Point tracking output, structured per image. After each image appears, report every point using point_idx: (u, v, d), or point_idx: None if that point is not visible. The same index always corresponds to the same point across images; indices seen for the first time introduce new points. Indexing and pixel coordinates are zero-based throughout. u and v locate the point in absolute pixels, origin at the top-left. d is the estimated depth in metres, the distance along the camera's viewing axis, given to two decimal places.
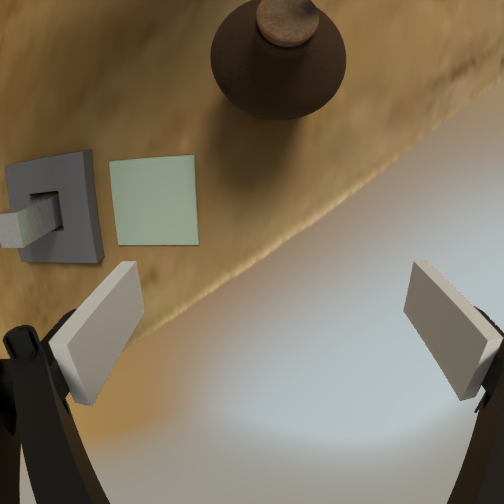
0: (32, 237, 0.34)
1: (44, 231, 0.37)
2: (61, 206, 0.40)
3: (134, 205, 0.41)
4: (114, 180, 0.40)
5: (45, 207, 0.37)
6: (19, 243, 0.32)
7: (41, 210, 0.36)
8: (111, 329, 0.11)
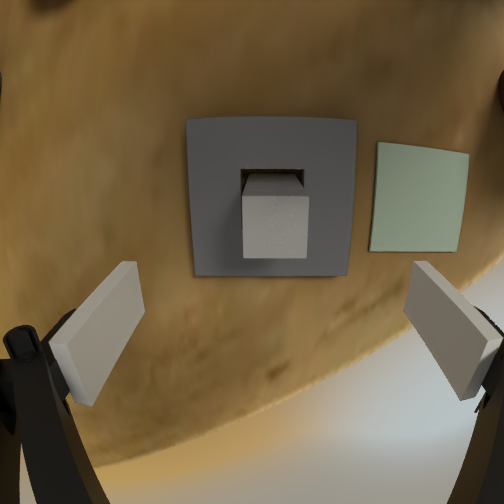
0: None
1: None
2: None
3: (403, 201, 0.32)
4: (382, 167, 0.31)
5: None
6: (299, 251, 0.23)
7: None
8: (111, 329, 0.11)
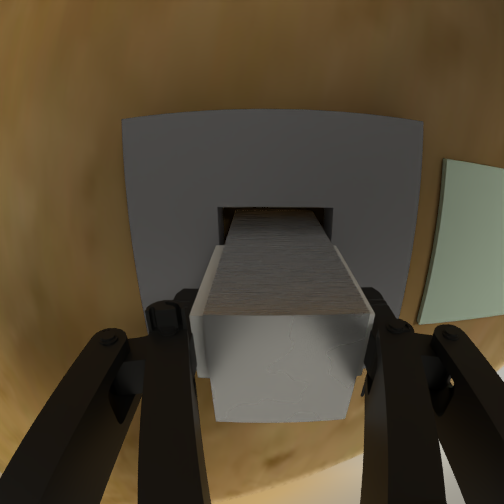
0: None
1: None
2: None
3: (471, 252, 0.19)
4: (450, 200, 0.18)
5: None
6: (332, 410, 0.10)
7: None
8: None
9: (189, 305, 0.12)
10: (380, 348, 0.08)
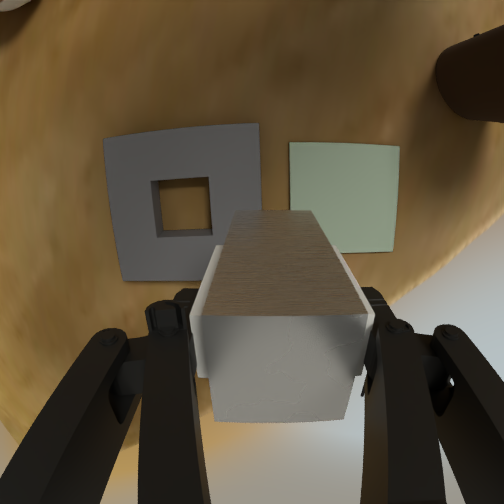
0: None
1: None
2: (212, 200, 0.31)
3: (322, 201, 0.33)
4: (295, 167, 0.32)
5: None
6: (331, 411, 0.10)
7: None
8: None
9: (189, 305, 0.12)
10: (380, 348, 0.08)
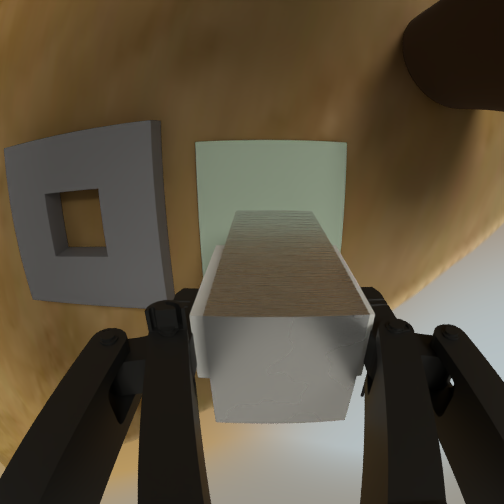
0: None
1: None
2: (104, 216, 0.25)
3: None
4: (203, 173, 0.25)
5: None
6: (332, 411, 0.10)
7: None
8: None
9: (189, 305, 0.12)
10: (380, 348, 0.08)
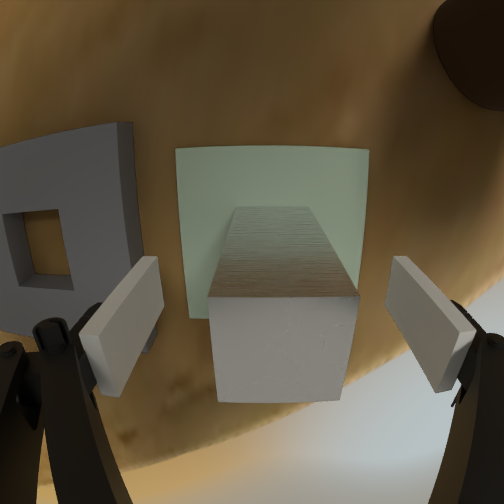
0: None
1: None
2: (66, 242, 0.19)
3: None
4: (186, 189, 0.20)
5: None
6: (327, 391, 0.11)
7: None
8: (136, 322, 0.12)
9: None
10: (480, 359, 0.07)
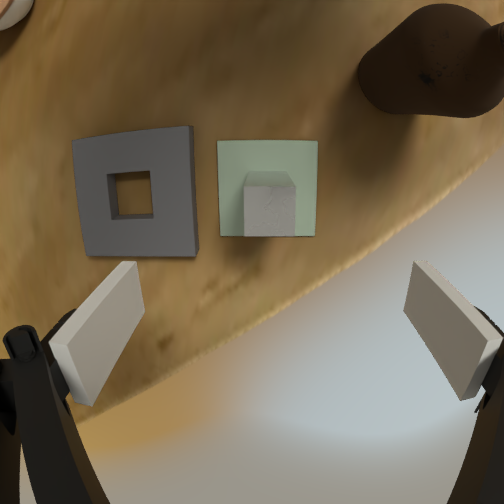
0: None
1: None
2: (153, 189, 0.37)
3: None
4: (222, 162, 0.38)
5: None
6: (288, 230, 0.29)
7: None
8: (111, 329, 0.11)
9: None
10: None
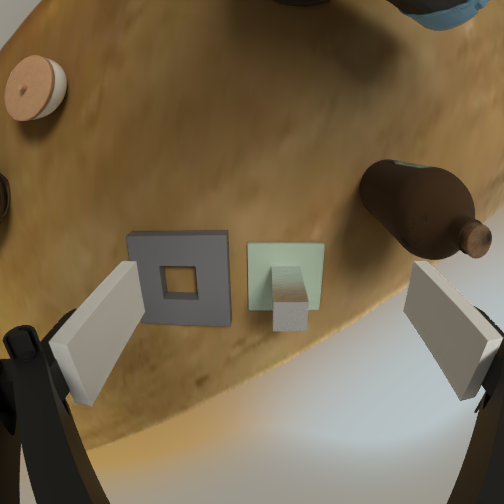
0: None
1: None
2: (198, 280, 0.50)
3: (268, 279, 0.52)
4: (251, 259, 0.51)
5: None
6: (302, 327, 0.42)
7: None
8: (111, 329, 0.11)
9: None
10: None
